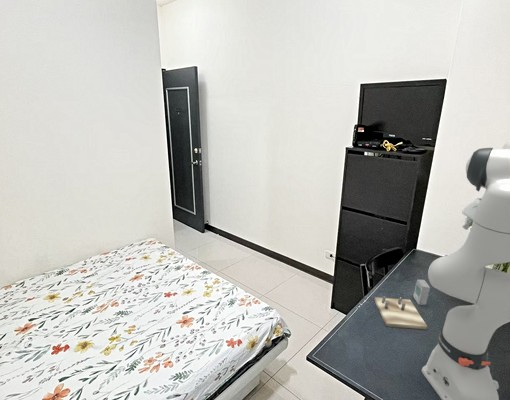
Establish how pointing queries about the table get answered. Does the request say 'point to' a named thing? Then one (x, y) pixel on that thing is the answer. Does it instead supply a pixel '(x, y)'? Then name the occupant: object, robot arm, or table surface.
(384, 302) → the pin tray
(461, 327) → the robot arm
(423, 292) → the drive
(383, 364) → the table surface
